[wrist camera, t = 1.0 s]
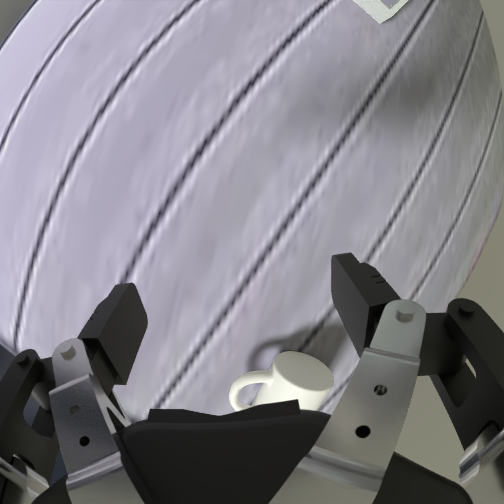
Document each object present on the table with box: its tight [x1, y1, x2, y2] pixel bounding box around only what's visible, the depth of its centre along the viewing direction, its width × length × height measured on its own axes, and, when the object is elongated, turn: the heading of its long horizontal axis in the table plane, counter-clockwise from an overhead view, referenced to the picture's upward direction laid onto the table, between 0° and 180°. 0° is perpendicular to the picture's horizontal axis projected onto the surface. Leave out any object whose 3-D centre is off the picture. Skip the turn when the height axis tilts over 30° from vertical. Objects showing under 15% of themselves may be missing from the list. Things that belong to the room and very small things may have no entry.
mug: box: [229, 351, 334, 411], centre depth 32 cm, size 12×10×8 cm
